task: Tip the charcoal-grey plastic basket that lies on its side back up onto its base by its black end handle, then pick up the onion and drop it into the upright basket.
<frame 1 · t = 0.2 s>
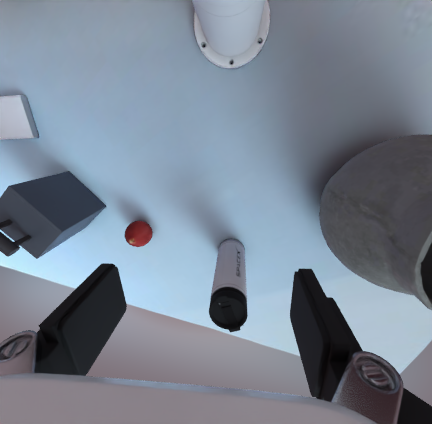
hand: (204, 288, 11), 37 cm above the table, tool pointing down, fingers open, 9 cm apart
travel mug: (231, 250, 53), on the table
ceramic pot: (366, 195, 45), on the table
basket: (45, 215, 43), point 10 cm above the table, hinge at 89.0°
onion: (145, 226, 53), on the table
hard drive: (8, 118, 46), on the table
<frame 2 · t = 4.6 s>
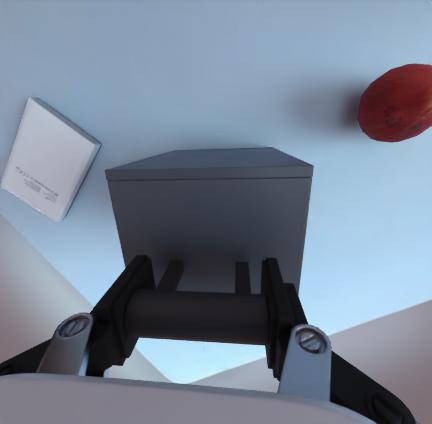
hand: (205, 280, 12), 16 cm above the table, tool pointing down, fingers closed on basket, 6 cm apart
basket: (215, 216, 17), point 10 cm above the table, hinge at 89.0°, touching gripper
onion: (372, 109, 22), on the table
hard drive: (55, 164, 27), on the table
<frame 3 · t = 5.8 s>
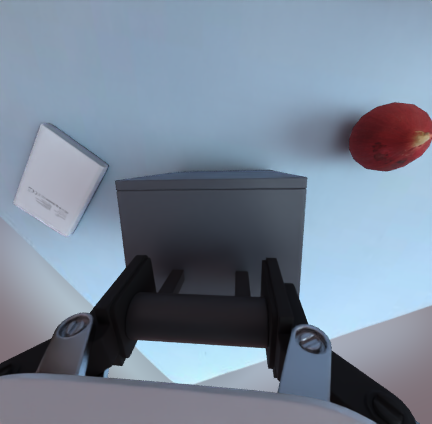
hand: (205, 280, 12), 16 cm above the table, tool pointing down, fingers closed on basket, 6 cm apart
basket: (216, 230, 18), point 10 cm above the table, hinge at 80.7°, touching gripper
onion: (363, 136, 23), on the table
hard drive: (64, 183, 29), on the table
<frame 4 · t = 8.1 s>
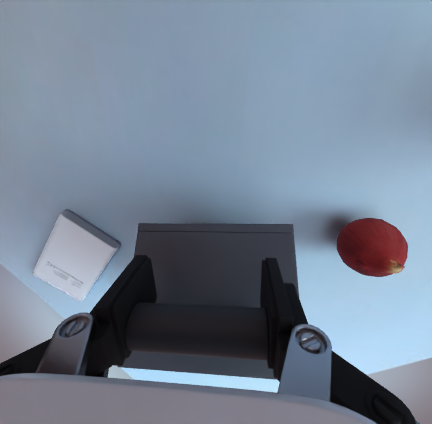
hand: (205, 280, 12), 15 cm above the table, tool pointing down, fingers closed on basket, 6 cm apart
basket: (217, 289, 18), point 10 cm above the table, hinge at 48.7°, touching gripper
onion: (350, 228, 26), on the table
hard drive: (79, 255, 31), on the table
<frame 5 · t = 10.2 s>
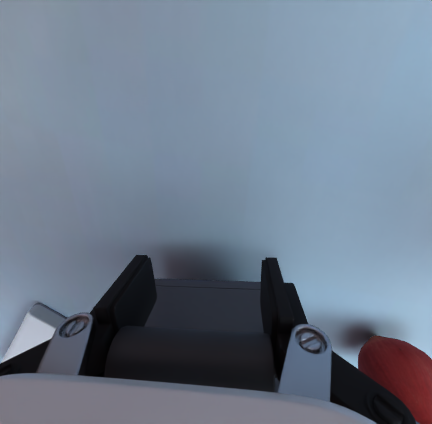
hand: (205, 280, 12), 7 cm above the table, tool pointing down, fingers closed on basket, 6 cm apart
basket: (212, 375, 15), point 7 cm above the table, hinge at 17.1°, touching gripper
onion: (372, 336, 22), on the table
hard drive: (54, 345, 27), on the table
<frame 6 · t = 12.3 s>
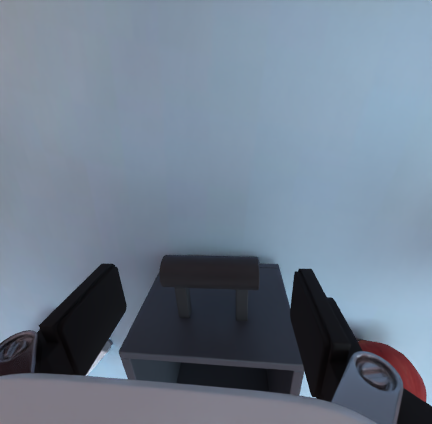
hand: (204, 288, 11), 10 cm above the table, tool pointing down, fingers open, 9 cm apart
basket: (217, 338, 18), point 5 cm above the table, hinge at 4.6°
onion: (359, 341, 24), on the table
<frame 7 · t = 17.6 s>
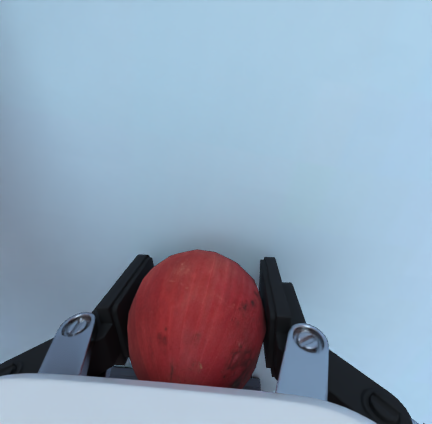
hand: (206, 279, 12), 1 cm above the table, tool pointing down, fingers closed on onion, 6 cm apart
onion: (209, 265, 13), on the table, touching gripper
when the fingers open (7 cm above the table, at t = 23.5 s): onion drops 4 cm, resting on basket.
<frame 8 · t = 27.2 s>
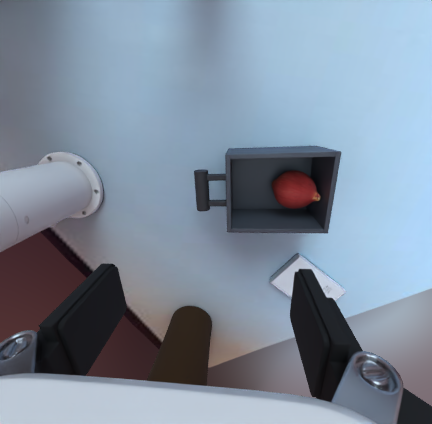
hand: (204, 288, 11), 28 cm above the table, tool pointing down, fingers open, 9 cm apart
basket: (257, 187, 33), point 5 cm above the table, hinge at -0.1°, touching onion
onion: (271, 182, 36), point 2 cm above the table, touching basket
olive oil: (192, 320, 51), on the table
hard drive: (305, 282, 44), on the table
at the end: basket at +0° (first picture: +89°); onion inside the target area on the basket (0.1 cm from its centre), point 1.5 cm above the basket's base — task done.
